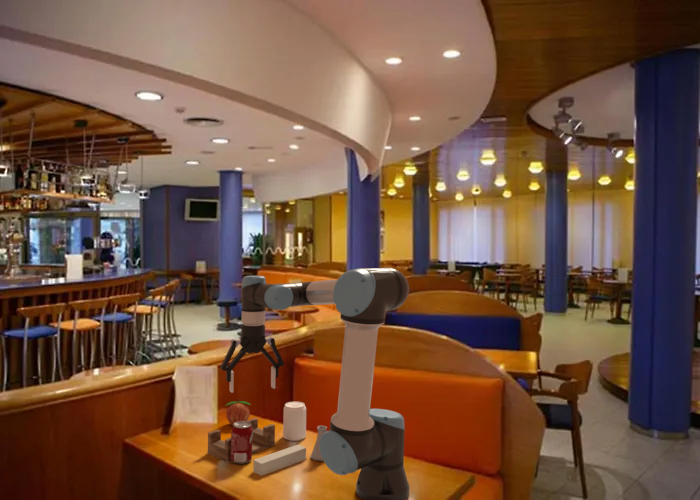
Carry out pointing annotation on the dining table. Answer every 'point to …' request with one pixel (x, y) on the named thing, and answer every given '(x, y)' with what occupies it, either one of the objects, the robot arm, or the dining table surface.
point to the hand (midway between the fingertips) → (252, 389)
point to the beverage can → (294, 421)
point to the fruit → (237, 411)
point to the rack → (223, 448)
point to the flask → (316, 451)
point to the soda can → (241, 442)
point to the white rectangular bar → (279, 459)
